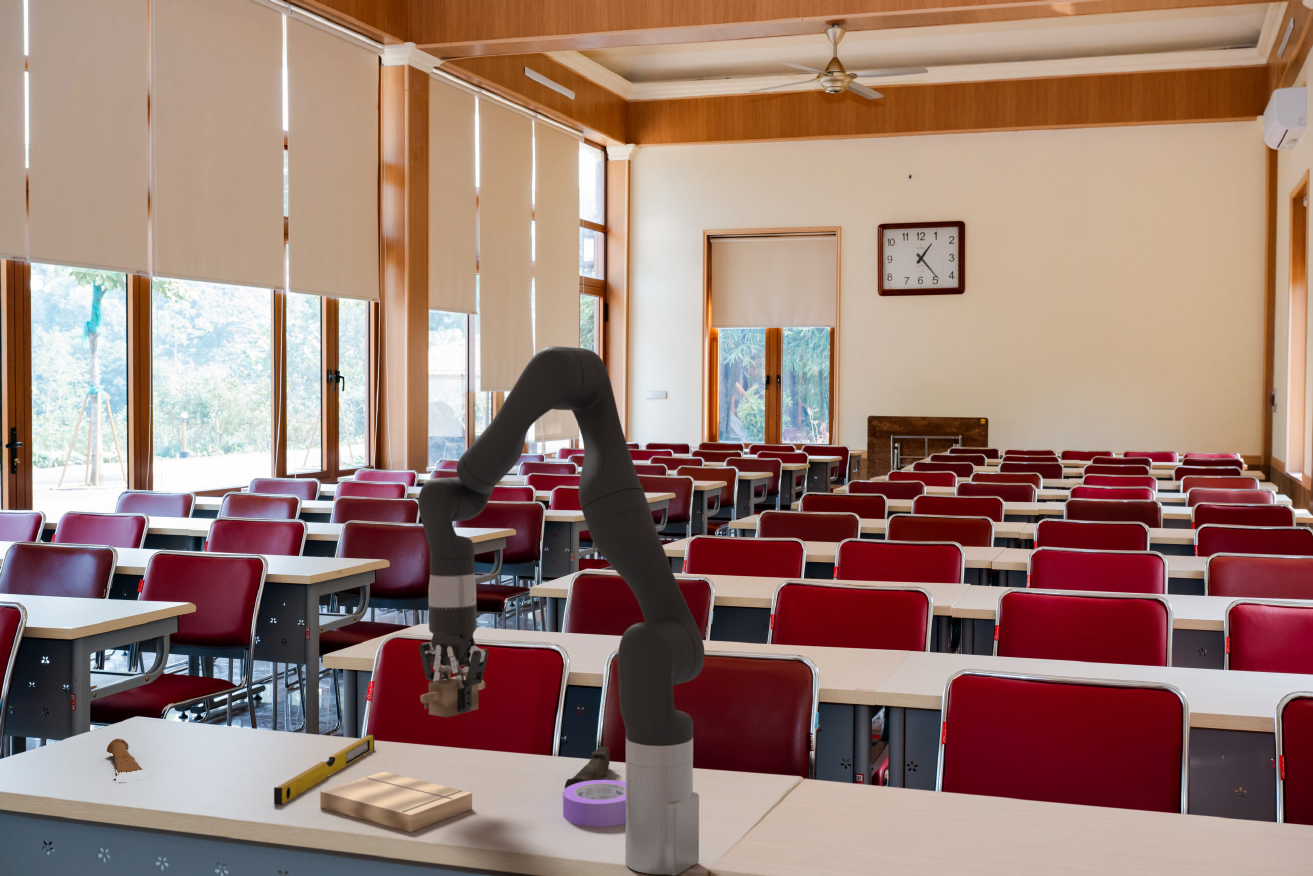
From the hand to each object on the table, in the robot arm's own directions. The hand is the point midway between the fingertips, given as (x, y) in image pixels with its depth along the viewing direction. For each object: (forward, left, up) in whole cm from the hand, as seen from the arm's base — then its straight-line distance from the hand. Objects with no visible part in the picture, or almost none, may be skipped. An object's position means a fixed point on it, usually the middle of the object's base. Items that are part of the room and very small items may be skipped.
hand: (453, 709), depth 188 cm
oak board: (+5, +8, -15) cm, 17 cm away
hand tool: (-12, -19, -15) cm, 27 cm away
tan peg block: (0, 0, 0) cm, 0 cm away
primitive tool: (+60, +19, -15) cm, 64 cm away
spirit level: (+28, +2, -15) cm, 31 cm away
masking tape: (-23, -8, -15) cm, 29 cm away
